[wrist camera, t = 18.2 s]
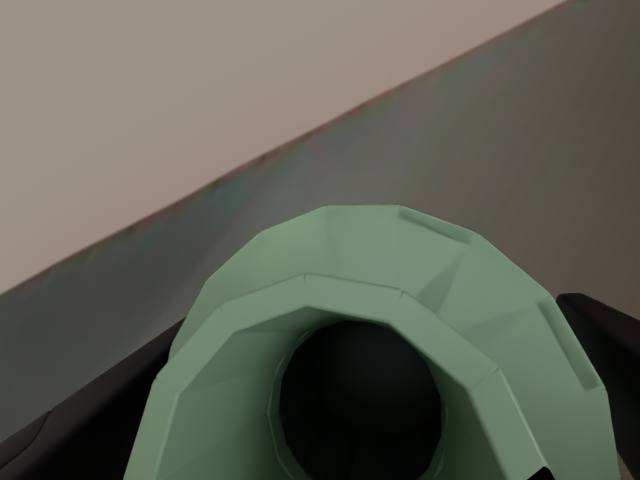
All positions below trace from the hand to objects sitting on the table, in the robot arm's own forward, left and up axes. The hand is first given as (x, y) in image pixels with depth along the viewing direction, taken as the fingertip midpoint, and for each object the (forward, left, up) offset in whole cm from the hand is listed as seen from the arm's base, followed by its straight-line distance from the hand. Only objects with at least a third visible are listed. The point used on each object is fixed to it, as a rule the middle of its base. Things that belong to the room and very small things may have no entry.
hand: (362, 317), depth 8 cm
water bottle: (-1, 0, -7) cm, 7 cm away
